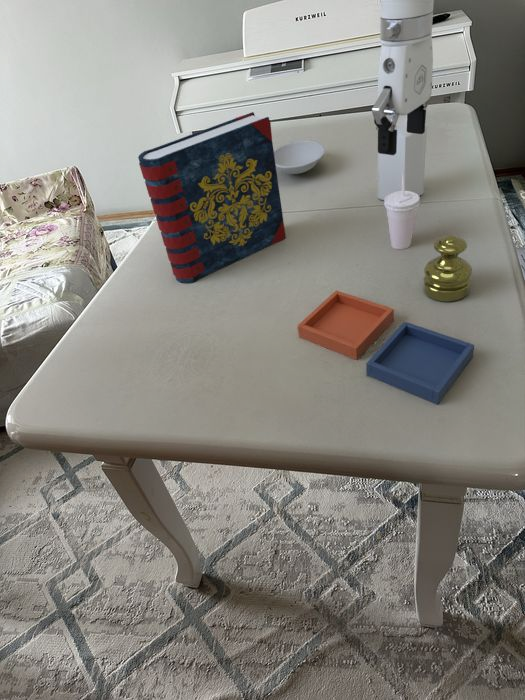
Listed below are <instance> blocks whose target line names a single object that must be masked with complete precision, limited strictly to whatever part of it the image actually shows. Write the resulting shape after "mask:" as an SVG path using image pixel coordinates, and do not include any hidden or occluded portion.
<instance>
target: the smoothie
mask: <svg viewBox="0 0 525 700" xmlns="http://www.w3.org/2000/svg"><path fill="white" fill-rule="evenodd" d="M420 203H421V197H420V196H419V195H418V194H416V193H414V192H411V191H405V174H402V191H397V192H393V193H391V194H389V195H387V196H386V197H385V201H384V203H383V205H384V207H385V208H386V209H385V210H386V216H387V223H388V225H387V226H388V232H389V238H390V239H389V240H390V246H391V248H393V249H395V250H405V249H408V248H409V247H410V246H411V245H412V238H413V234H414V228H415V222H416V216H417V213H418V212H417V211H418V207H419V205H420Z"/></svg>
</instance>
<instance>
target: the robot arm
mask: <svg viewBox="0 0 525 700" xmlns="http://www.w3.org/2000/svg"><path fill="white" fill-rule="evenodd" d="M434 2H435V0H380V18H379V22H380V23H379V25H380V26H379V43H380V44H381V46H380V54H379V64H378V72H377V73H378V75H377V99H376V101H375V103H374V104H373V106H372V107H371V113H372V116H373V122H374V125H375V129H376V131H377V154H378V153H380V154H387V155H395V154H396V152H397V130H394V129H395V126H396V123H397V120H398V117H399V115H400V114H401V115H407V132H408V133H415V134H423V133H424V132H425V123H426V118H427V108H428V105H429V99H430V98H431V97H432V94H433V71H434V65H433V64H434V62H433V61H434V55H433V53H434V52H433V50H434V49H433V38H432V37H433V35H432V34H433V32H432V31H433V22H434V21H433V19H434ZM387 116H390V120H391V121H390V120H389V118H388V117H387ZM391 116H392V118H391Z"/></svg>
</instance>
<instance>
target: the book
mask: <svg viewBox="0 0 525 700" xmlns="http://www.w3.org/2000/svg"><path fill="white" fill-rule="evenodd" d="M271 123H272V122H271V119H270V117H269V116H266V117H263V118H262V117H259V116H257V115H256V114H255V112H253V111H251V112H249V113H246V114H244V115H239V116H237V117H235V118H233V119H230V120H227V121H224V122H222V123H219V124H217V125H213V126H210V127H207V128H205V129H203V130H199V131H198V132H197V131H196V132H195V133H192V134H189V135H186V136H184V137H180V138H177V139H175V140H173V141H170V142H167V143H164V144H161V145H158V146H156V147H153V148H151V149H147V150H144V151H142V152H141V153H140V154H139V155H138V156H137V158H138V161H139V168H140V171H141V174H142V175H141V176H142V177H143V179H144V184H145V188H146V191H147V194H148V197H149V198H150V204H151V206H152V210H153V213H154V215H155V219H156V224H157V227H158V230H159V231H160V234H161V239H162V243H163V246H164V247H165V251H166V254H167V258H168V261H169V262H170V266H171V270H172V275H173V276H174V277H175V279H176V281H177V282H179V283H182V284H193V283H195V282H197V281H198V280H200V279H202V278H205V277H207V276H209V275H211V274H213V273H215V272H217V271H219V270H221V269H223V268H225V267H228V266H229V265H232V264H234V263H236V262H238V261H240V260H242V259H244V258H246V257H249V256H251V255H252V254H255V253H257V252H259V251H261V250H264V249H266V248H268V247H269V246H272V245H274V244H277V243H279V242H281V241H283V240H284V239H286V238H287V237H286V236H287V235H286V229H285V222H284V215H283V208H282V202H281V194H280V186H279V180H278V173H277V167H276V164H275V157H274V143H273V133H272V124H271Z"/></svg>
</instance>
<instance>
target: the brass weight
mask: <svg viewBox="0 0 525 700" xmlns="http://www.w3.org/2000/svg"><path fill="white" fill-rule="evenodd" d="M467 247H468V243H467V241H466V240H465V239H464V238H462V237H459V236H456V235H446V236H442V237H439V238H437V239H436V240H435V241H434V243H433V249H434V251H436V252H437V253H439V254H440V255H438V256H436V257H434V258H433V259H431V260H429V261H428V262H427V263H426V264H425V266H424V268H423V272H424V273H423V274H424V277H423V292H424V294H425V295H426V296H428V297H429V298H430V299H432V300H435V301H439V302H445V303H448V302H456V301H459V300H462V299H463V298H465V297H466V296H467V295H468V293H469V292H470V285H471V281H472V280H471V276H472V273H473V269H472V266H471V264H470V263H469V262H468V261H467V260H465V259H463V258H462V257H461V256H459V255H460V254H462V253H464V252H465V251H466V250H467Z"/></svg>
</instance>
